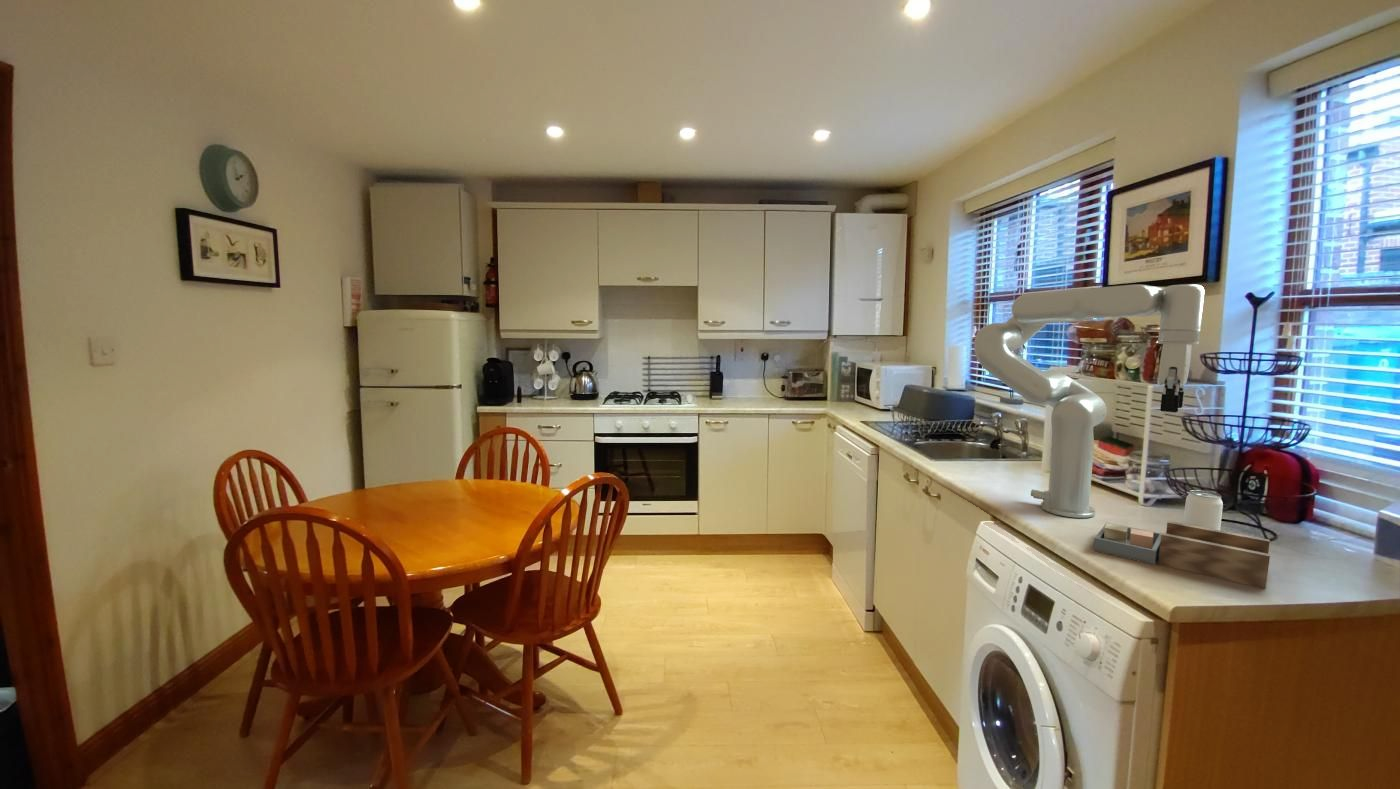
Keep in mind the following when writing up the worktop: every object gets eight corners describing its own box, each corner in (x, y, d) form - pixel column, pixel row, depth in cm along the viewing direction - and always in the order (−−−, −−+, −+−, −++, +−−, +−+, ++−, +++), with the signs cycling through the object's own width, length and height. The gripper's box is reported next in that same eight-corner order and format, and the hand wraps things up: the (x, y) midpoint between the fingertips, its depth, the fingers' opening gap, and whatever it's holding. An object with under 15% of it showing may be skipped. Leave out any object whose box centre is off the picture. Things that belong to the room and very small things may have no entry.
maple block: (1126, 531, 131) (1124, 548, 131) (1127, 527, 134) (1126, 543, 134) (1104, 527, 133) (1103, 544, 134) (1106, 523, 136) (1105, 539, 137)
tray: (1093, 550, 131) (1094, 537, 131) (1105, 534, 141) (1106, 522, 141) (1154, 564, 124) (1156, 551, 124) (1163, 546, 134) (1164, 534, 134)
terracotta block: (1130, 533, 130) (1153, 537, 127) (1130, 528, 133) (1153, 532, 131) (1128, 550, 130) (1151, 554, 128) (1129, 545, 133) (1151, 549, 131)
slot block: (1158, 564, 124) (1161, 534, 123) (1165, 548, 133) (1168, 520, 132) (1265, 588, 113) (1269, 556, 112) (1265, 569, 121) (1269, 539, 121)
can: (1175, 541, 137) (1180, 491, 136) (1191, 537, 140) (1196, 488, 138) (1207, 551, 131) (1213, 499, 130) (1224, 546, 134) (1230, 495, 132)
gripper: (1163, 336, 147) (1156, 404, 149) (1153, 338, 134) (1146, 411, 136) (1202, 337, 142) (1194, 407, 144) (1196, 338, 129) (1188, 415, 131)
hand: (1171, 409), depth 140 cm, fingers open, 9 cm apart
